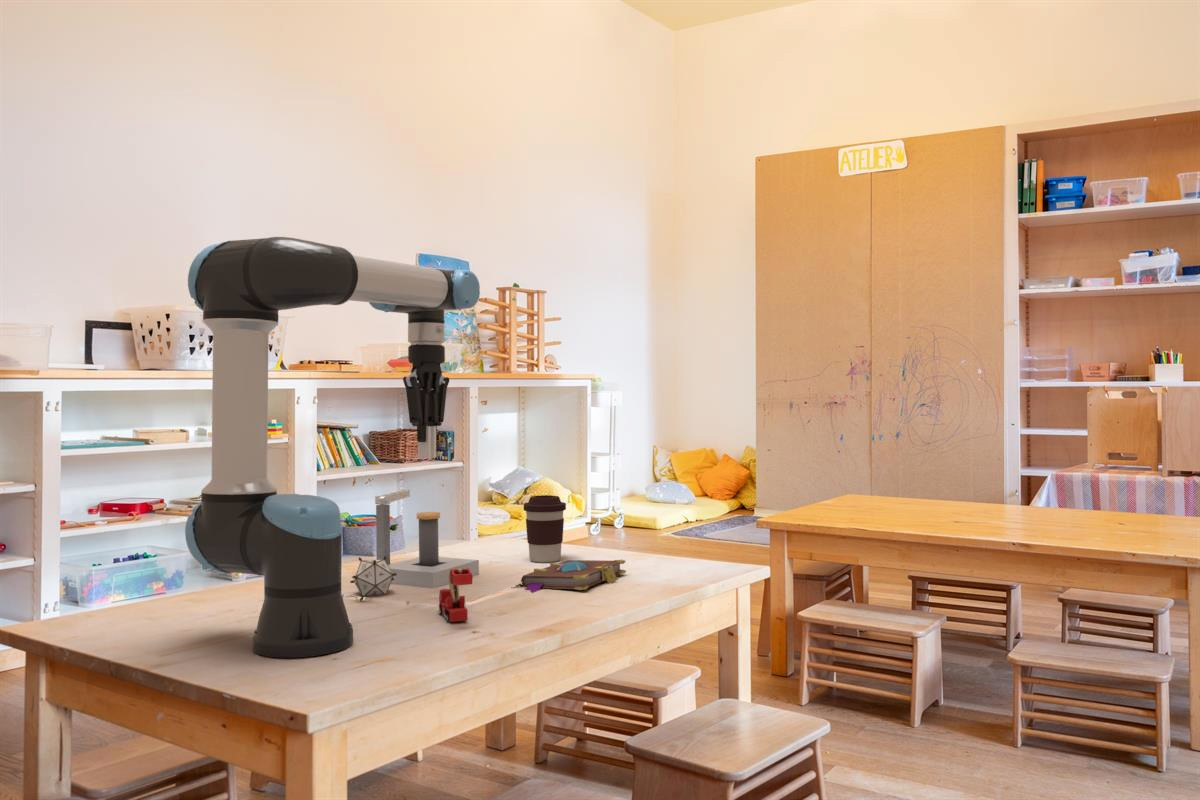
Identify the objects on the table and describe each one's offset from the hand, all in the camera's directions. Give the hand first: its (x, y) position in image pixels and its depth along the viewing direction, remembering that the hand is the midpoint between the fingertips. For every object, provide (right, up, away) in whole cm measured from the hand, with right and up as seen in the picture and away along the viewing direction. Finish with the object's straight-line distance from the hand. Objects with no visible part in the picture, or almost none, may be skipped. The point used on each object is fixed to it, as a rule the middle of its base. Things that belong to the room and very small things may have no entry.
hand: (427, 457), depth 206 cm
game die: (-8, -27, -15) cm, 31 cm away
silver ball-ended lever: (-9, -10, +11) cm, 18 cm away
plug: (0, -25, 0) cm, 25 cm away
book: (+30, -27, -1) cm, 40 cm away
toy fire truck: (+11, -27, -33) cm, 44 cm away
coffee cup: (+23, -26, +26) cm, 44 cm away
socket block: (0, -26, 0) cm, 26 cm away
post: (-10, -26, +5) cm, 29 cm away
